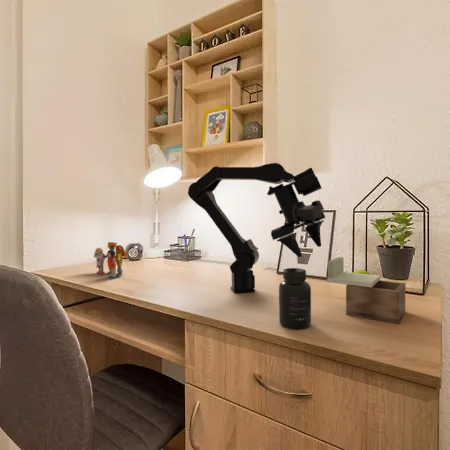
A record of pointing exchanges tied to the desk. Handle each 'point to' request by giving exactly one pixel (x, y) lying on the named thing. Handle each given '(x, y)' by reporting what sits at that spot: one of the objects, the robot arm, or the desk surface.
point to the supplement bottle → (294, 299)
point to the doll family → (111, 259)
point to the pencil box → (377, 301)
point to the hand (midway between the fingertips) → (310, 251)
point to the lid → (348, 275)
